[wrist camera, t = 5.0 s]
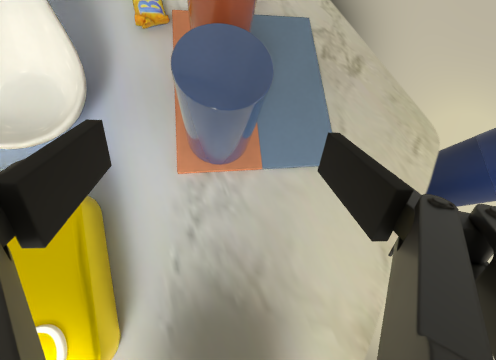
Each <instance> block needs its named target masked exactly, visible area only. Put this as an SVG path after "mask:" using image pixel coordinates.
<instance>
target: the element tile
mask: <svg viewBox="0 0 496 360" xmlns="http://www.w3.org/2000/svg"><path fill="white" fill-rule="evenodd" d="M7 246H8V247H9V249H10V251H11V254H12V257H13V260H14V263H15V266H16V269H17V272H18V275H19V278H20V281H21V284H22V287H23V290H24V293H25V296H26V300H27V303H28V306H29V309H30V312H31V315H32V318H33V321H34V324H35V327H36V330H37V333H38V336H39V339H40V342H41V345H42V349H43V352H44V355H45V358H46V360H112V358H113V356H114V355H115V353H116V352H117V349H118V345H119V341H120V331H119V324H118V318H117V311H116V304H115V297H114V291H113V284H112V277H111V271H110V264H109V257H108V251H107V244H106V237H105V231H104V224H103V217H102V211H101V209H100V206H99V205H98V203H97V202H96V200H94V199H93V198H91V197H89V196H87V197H86V198H85V199H84V200H83V202H82V203H81V204H80V205H79V207H78V208H77V209H76V210H75V212H74V213H73V214H72V215H71V217H70V218H69V219H68V220H67V222H66V223H65V224H64V225H63V227H62V228H61V229H60V230H59V232H58V233H57V234H56V235H55V237H54V238H53V239H52V240H51V242H50V243H49V244H48V245H47V247H46V248H21V246H20V244H19V243H18V241H17V239H16V237H14V238H13V239H12V240H11V241H10V242H9V243H8V244H7Z"/></svg>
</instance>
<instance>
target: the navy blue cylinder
mask: <svg viewBox="0 0 496 360" xmlns="http://www.w3.org/2000/svg"><path fill="white" fill-rule="evenodd" d="M171 70H172V74H173V79H174V83H175V88H176V92H177V97H178V101H179V106H180V110H181V114H182V119H183V123H184V128H185V132H186V137H187V141H188V144H189V147H190V149H191V150H192V152H193V153H194V154H195V155H196V156H197V157H198V158H200V159H201V160H203V161H205V162H207V163H211V164H216V165H222V164H228V163H231V162H233V161H235V160H237V159H238V158H240V157H241V156H242V155H243V153H244V152H245V151H246V149H247V146H248V144H249V141H250V139H251V136H252V133H253V131H254V128H255V126H256V123H257V120H258V118H259V115H260V113H261V110H262V107H263V105H264V102H265V100H266V97H267V94H268V92H269V89H270V87H271V84H272V81H273V75H274V68H273V62H272V59H271V56H270V54H269V52H268V50H267V48H266V47H265V46H264V44H263V43H262V42H261V41H260V40H259V39H258V38H257V37H256V36H254V35H253V34H252V33H250V32H248V31H246V30H245V29H242V28H240V27H237V26H234V25H230V24H224V23H211V24H205V25H201V26H198V27H195V28H193V29H191V30H190V31H188V32H187V33H185V34H184V35H183V36H182V37H181V38H180V39H179V41H178V42H177V44H176V45H175V47H174V50H173V52H172V57H171Z"/></svg>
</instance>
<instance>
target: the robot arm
mask: <svg viewBox="0 0 496 360" xmlns="http://www.w3.org/2000/svg"><path fill="white" fill-rule="evenodd" d="M111 166H112V165H111V161H110V156H109V151H108V146H107V142H106V137H105V132H104V128H103V123H102V120H85V121H83V122H82V123H80V124H79V125H77V126H76V127H74V128H73V129H71V130H69V131H68V132H66V133H65V134H63V135H62V136H60V137H59V138H57V139H55V140H54V141H52V142H51V143H49V144H48V145H46V146H44V147H43V148H41V149H40V150H38V151H37V152H35V153H34V154H32V155H30V156H29V157H27V158H26V159H24V160H21V161H18V162H15V163H14V164H12V165H10V166H9V167H7V168H6V169H5V170H2V171H1V172H0V360H46V358H45V355H44V352H43V349H42V345H41V342H40V339H39V336H38V333H37V330H36V327H35V324H34V321H33V318H32V315H31V312H30V309H29V306H28V303H27V300H26V296H25V293H24V290H23V287H22V284H21V281H20V278H19V275H18V272H17V269H16V266H15V263H14V260H13V257H12V254H11V251H10V249H9V247H8V246H7V244H8V243H9V242H10V241H11V240H12V239H13V238H14V237H16V239H17V241H18V243H19V244H20V246H21V248H46V247H47V245H48V244H49V243H50V242H51V240H52V239H53V238H54V237H55V235H56V234H57V233H58V232H59V230H60V229H61V228H62V227H63V225H64V224H65V223H66V222H67V220H68V219H69V218H70V217H71V215H72V214H73V213H74V212H75V210H76V209H77V208H78V207H79V205H80V204H81V203H82V202H83V200H84V199H85V198H86V197H87V195H88V194H89V193H90V192H91V190H92V189H93V188H94V187H95V185H96V184H97V183H98V182H99V180H100V179H101V178H102V177H103V175H104V174H105V173H106V172H107V170H108V169H109V168H110V167H111ZM318 172H319V174H320V175H321V176H322V178H323V179H324V180H325V181H326V183H327V184H328V185H329V187H330V188H331V189H332V190H333V192H334V193H335V194H336V196H337V197H338V198H339V199H340V201H341V202H342V203H343V205H344V206H345V207H346V208H347V210H348V211H349V212H350V214H351V215H352V216H353V217H354V219H355V220H356V221H357V223H358V224H359V225H360V227H361V228H362V229H363V230H364V232H365V233H366V234H367V236H368V237H369V238H370V239H371V241H388V239H389V237H390V235H391V233H392V231H394V232H395V233H396V234H397V235H398V236H399V237H398V239H397V240H396V242H395V244H394V246H393V248H392V250H391V251H390V253H389V255H388V256H392V255H393V259H392V266H391V272H390V279H389V285H388V292H387V298H386V304H385V311H384V318H383V324H382V330H381V337H380V344H379V350H378V356H377V360H493V356H494V359H495V360H496V206H490V205H485V204H478V205H476V207H475V208H474V209H473V211H472V212H471V213H466V212H461V211H458V208H457V207H456V206H455V205H454V204H453V203H451V202H449V201H448V200H446V199H444V198H442V197H438V196H434V195H429V194H424V195H421V194H419V193H418V192H417V191H416V190H414V189H413V188H412V187H410V186H409V185H408V184H406V183H404V181H402V180H401V179H399V178H398V177H397V176H396V175H394V174H393V173H392V172H390V171H389V170H387V169H386V168H385V167H383V166H382V165H381V164H379V163H378V162H377V161H375V160H374V159H373V158H372V157H370V156H369V155H368V154H366V153H365V152H364V151H362V150H361V149H360V148H358V147H357V146H356V145H354V144H353V143H352V142H351V141H349V140H348V139H347V138H345V137H344V136H343V135H341V134H340V133H329V132H328V134H327V138H326V142H325V146H324V149H323V153H322V157H321V160H320V164H319V168H318ZM493 254H494V256H493V259H492V261H491V262H490V263H488V262H487V261H488V260H489V258H490V257H491V256H492V255H493Z"/></svg>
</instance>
